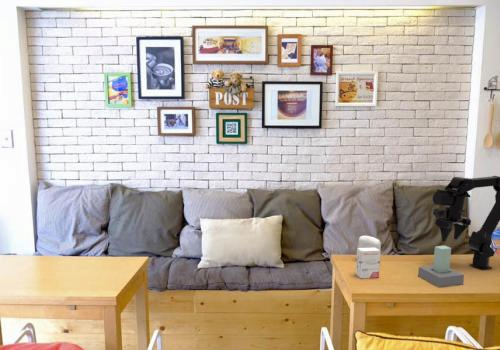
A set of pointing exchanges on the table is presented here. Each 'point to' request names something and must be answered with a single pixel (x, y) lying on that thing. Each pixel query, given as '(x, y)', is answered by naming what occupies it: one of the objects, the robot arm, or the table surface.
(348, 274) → the table surface
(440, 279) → the grey square socket block
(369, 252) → the ink box
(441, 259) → the pale green block
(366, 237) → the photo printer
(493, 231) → the robot arm
